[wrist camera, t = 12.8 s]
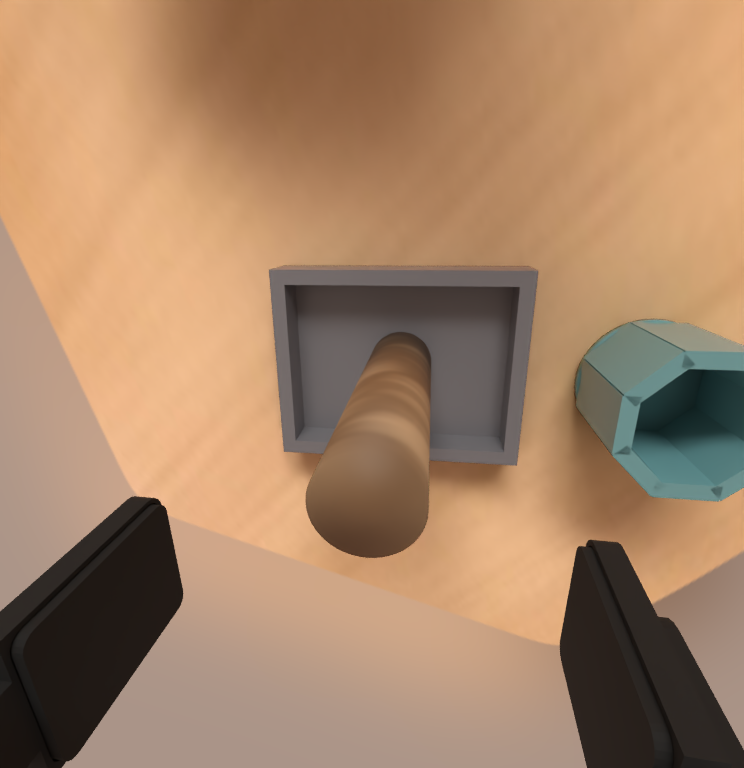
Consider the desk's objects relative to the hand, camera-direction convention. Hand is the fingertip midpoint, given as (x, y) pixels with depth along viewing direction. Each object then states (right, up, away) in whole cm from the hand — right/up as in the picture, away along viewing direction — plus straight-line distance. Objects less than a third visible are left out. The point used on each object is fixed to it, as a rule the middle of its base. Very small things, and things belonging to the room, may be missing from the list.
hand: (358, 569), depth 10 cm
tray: (+2, +6, +18) cm, 19 cm away
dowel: (+2, +6, +17) cm, 18 cm away
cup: (+16, +4, +16) cm, 23 cm away
